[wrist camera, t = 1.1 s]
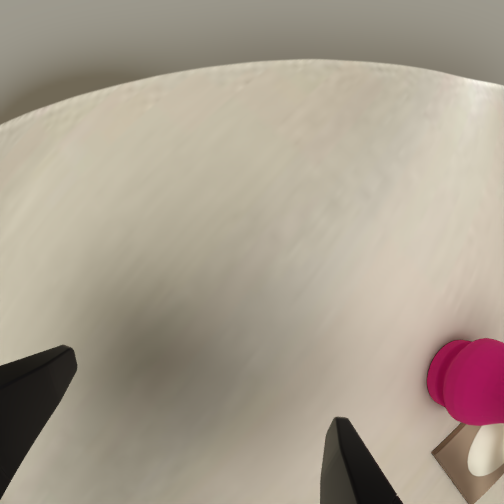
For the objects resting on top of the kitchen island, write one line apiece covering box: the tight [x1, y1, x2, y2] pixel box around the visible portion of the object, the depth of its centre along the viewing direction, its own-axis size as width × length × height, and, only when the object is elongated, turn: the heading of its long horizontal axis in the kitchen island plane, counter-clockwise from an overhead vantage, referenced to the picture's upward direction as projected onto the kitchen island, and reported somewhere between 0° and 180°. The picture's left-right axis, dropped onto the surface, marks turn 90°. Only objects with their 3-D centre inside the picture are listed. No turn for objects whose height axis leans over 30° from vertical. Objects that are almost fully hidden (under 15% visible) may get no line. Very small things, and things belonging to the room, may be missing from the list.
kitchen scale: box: [431, 423, 504, 504], centre depth 21 cm, size 13×13×1 cm
